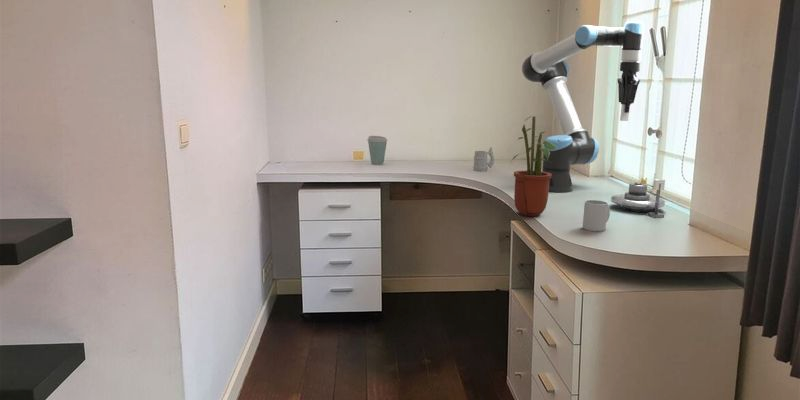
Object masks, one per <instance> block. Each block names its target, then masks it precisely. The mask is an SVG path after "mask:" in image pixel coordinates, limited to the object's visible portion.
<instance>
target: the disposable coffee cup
mask: <svg viewBox="0 0 800 400" xmlns="http://www.w3.org/2000/svg"><path fill="white" fill-rule="evenodd" d="M366 140H367V144H368V150H369V157H370V163H371V165H374V166H381V165H384V163H385V157H386V151H387V150H386V149H387V142H388V139H387V138H386V137H385V136H381V135H370V136H368V138H367V139H366Z"/></svg>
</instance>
